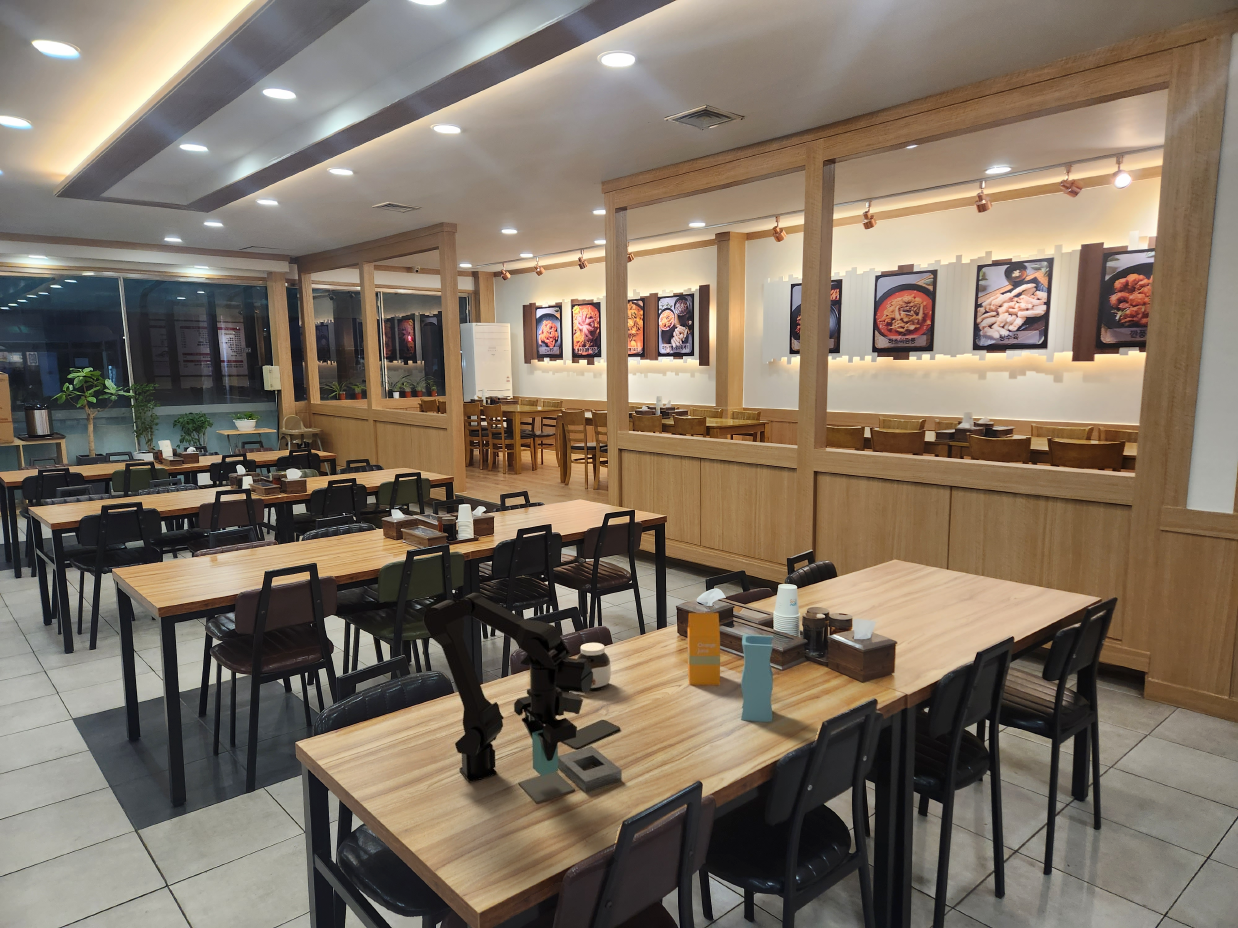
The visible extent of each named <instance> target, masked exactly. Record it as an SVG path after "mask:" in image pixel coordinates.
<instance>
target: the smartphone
mask: <svg viewBox="0 0 1238 928" xmlns="http://www.w3.org/2000/svg"><path fill="white" fill-rule="evenodd" d="M620 731H621V727H620V726H619V725H616V724H614V723H612V722H610V721H608V720H606V719H601V720H598V721H595V722H593V723H590V724H588V725H586V726H584V727H582V728H580V729H577V737H576V738H572V739H569V740H565V741H562V742H561V744H564V745H566V746H567V747H569V748H571V749H573V750H575V751H576V750H580V749H583V748H586V747H588V746H590V745H593V744H594V743H596V742H598V741H601V740H602V739H605V738H608V737H610V736H612V735H614V734H616V733H619V732H620Z"/></svg>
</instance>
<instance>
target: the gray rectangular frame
mask: <svg viewBox="0 0 1238 928" xmlns="http://www.w3.org/2000/svg"><path fill="white" fill-rule="evenodd" d="M590 767H594V768H590ZM587 768H590V769H587ZM583 769H587V770H583ZM558 770H560V771H561V772H562V773H563V774H565V775H566V776H567V777H568V779H570V780H571V781H572V782H573V783H574V784H576V785H577V787H579V789H581V790H582V791H583V792H584V793H585V794H586V793H590V792H593V791H595V790H598V789H601V788H604V787H607V786H610V785H613V784H617V783H618V782H622V780H623V778H622V777H623V775H622V774H623V773H622V772H623V771H622V769H621V768H620V767H618V765H616V764H615V763H614V762H612V761H611V760H610V759H609V758H608V757H606V756H605V755H604V754H602V753H601V752H600V751H599V750H598V749H596V748H595V747H594V746H593V745H591V746H590V745H589V746H585V747H583V748H580V749H577V750H576V749H575V750H574V751H570V752H568V753H564V754H560V755H558Z"/></svg>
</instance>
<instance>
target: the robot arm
mask: <svg viewBox="0 0 1238 928" xmlns="http://www.w3.org/2000/svg"><path fill="white" fill-rule="evenodd" d="M466 616H469V617H472V618H474V619H475V620H477V621H479V622H480V623H483V624H485V625H487V626H488V627H490V628H492V629H494V630H495V631H498V632H500V633H501V634H504V636H507V637H509V638H511V639H512V640H513V641H514V642H515V643H516V645H517V646H518V647H519V650H521V651H523V652H524V653H525V654H526V656H525V657H524V658H523V659H522V660H520V661H519V663H520V665H522V666H527V667H529V683H530V684H529V685H530V686H529V687H530V688H527V689H526V695H527V696H523V697H519V698H517V699H516V701H515V702H514V703H513V711H514V713H515V714H516V715H517V716H519V717H520V716H523V714H524V717H521V722H522V723H523V725H524V727H525V729H526V731H527V732H528V734H529V736H530V738H531V739H532V732H536V731H540V730H543V732H541V733H538V737H539V740H540V742H541V745H542V748H543V751H544V753H545V756H546V759H547V761H551V760H552V759H553V757H554V753H555V750H556V747H557V744H559V743H562V741H565V740H569V739H572V738H576V737H577V730H578V726H577V725H575V724H574V723H573V722H572V721H571V720H569V719H567V717H564V718H560V719H558V718H557V716H558V717H561V716H564V715H565V713H573V714H574V715H579V714H581V713H580V712H581V709H582V705H583V701H584V699H583V698H582V697H580V696H579V694H574V693H572V692H578V693H582V694H584V695H586V694H588V693H589V692H590V691H589V690H590V688H591V685H592V681H593V672H592V669H591V667H590V666H589V665H588V660H587V659H577V658H575V657H570V656H572V653H571V651H570V649H569V648H568V647H567V644H565V642H564V640H563V639H562V637H561V634H560V631H559V629H558V628H557V627H556V626H555V625H553V624H550V623H547V622H543V621H541V620H531V619H527V618H524V617H522V616H520V615H518V614H516V613H514V612H512V611H511V610H508V609H507V608H505V607H503V606H501V605H499V604H497V603H495V602H493V601H491V600H489V599H487V598H486V597H484V596H483V594H481V593H478V592H472V593H471V594H468V595H465V596H463V597H462V598H461V599H459V600H456V601H453V600H451V599H449V600H448V599H447V600H444V601H442V602H440V603H438V604H436V605H433V606H430V607H429V608H428V609H427V610H426V611H425V613H424V615H423V617H422V620H423V624H424V627H425V628H426V630H427V632H428V634H429V636H430V638H431V639H432V640H434V641H435V642H436V643H437V644H438V645H440V647H441V649H442V652H443V654H444V657H445V659H446V660H445V661H446V663H447V665H448V668H449V671H450V673H451V677H452V678H453V682H454V684H455V686H456V689H457V692H458V695H459V698H460V700H461V703H462V706H463V714H462V726H463V732H464V734H463V735H462V736H461V737H460V738H459V739H458V740H457V741H456V742H455V743H454V745H455V748H456V752H457V754H458V753H459V754H461V766H460V767H459V771H460V773H461V774H462V775H463V777H464V778H465V779H466V780H467V781H468V782H469V783H472V782H476V781H478V780H481V779H486V778H489V777H491V776H496V775H497V770H496V769H495V768H496V750H495V749H494V744H493V741H496V740H497V737H498V735H499V734H500V733H501V732H502V730H503V727H504V722H503V720H504V719H505V717H504V716H503V714H502V713H501V711H500V706H499V704H498V702H497V701H495V702H493V703H491V702H490V701H489V700H488V699H487V698H486V696H485V694H484V692H483V688H482V686H481V684H480V681H479V677H478V675H477V673H476V670H475V666H474V664H473V661H472V659H471V656H470V652H469V651H468V647H467V645H466V642H465V640H464V629H465V620H464V617H466ZM554 651H555V653H554V654H553V655H550V654H551V653H553V652H554ZM570 691H572V692H570Z"/></svg>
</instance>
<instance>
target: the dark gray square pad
mask: <svg viewBox="0 0 1238 928" xmlns="http://www.w3.org/2000/svg"><path fill="white" fill-rule="evenodd" d="M517 784H518V786H519V787H520V788H521V789H522V790H523V791H524V792H525V793H526V794H527V796H529V798H531V799H532V801H534V802H535V804H540V803H543V802H545V801H548V800H553V799H554V798H557V797H561V796H563V795H566V794H570V793H572V792H575V791H576V789H575V787H573V786H572V784H570V783H569V782H568V781H567V780H566V779H565V778H564V777H563V776H562V775H560V774H559V773H558V771H556V772H553V773H550V774H547V775H544V776H540V775H539V776H535V777H532V778H529V779H525V780H521V781H519V782H518V783H517Z"/></svg>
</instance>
